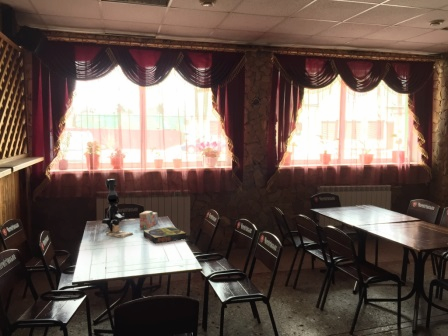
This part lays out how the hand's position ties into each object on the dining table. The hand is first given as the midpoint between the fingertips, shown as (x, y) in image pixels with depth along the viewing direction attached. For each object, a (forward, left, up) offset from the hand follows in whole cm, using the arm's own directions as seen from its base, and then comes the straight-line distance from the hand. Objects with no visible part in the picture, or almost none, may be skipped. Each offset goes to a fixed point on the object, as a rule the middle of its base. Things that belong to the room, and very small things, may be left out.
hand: (113, 230), depth 310 cm
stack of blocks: (+6, +34, -3) cm, 35 cm away
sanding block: (0, 0, -1) cm, 1 cm away
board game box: (+41, +9, -3) cm, 42 cm away
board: (+5, 0, -3) cm, 6 cm away
